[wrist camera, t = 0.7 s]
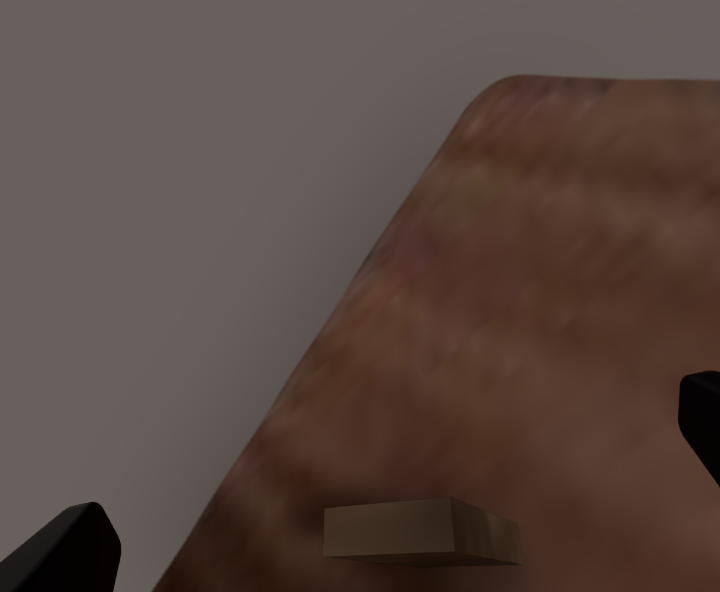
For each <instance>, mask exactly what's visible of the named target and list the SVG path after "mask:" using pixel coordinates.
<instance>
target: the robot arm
mask: <svg viewBox="0 0 720 592" xmlns="http://www.w3.org/2000/svg"><path fill="white" fill-rule="evenodd" d="M678 423H679V427H680V430H681V432H682V434H683V436H684V438H685V439H686V441H687V442H688V443H689V445H690V446H691V448H692V449H693V450H694V452H695V453H696V455H697V456H698V457H699V459H700V460H701V462H702V463H703V464H704V466H705V467H706V469H707V470H708V471H709V473H710V474H711V476H712V477H713V478H714V480H715V481H716V483H717V484H718V485H719V487H720V372H718V371H712V370H710V371H703V372H699V373H694V374H689V375H686V376H685V377H683V378H682V380H681V382H680V391H679V409H678ZM120 557H121V543H120V539H119V537H118V535H117V533H116V531H115V529H114V528H113V526H112V524H111V522H110V520H109V518H108V517H107V515H106V513H105V511H104V509H103V507H101V505H100V504H98V503H97V502H89V503H84V504H79V505H75V506H71V507H69V508H67V509H65V510H64V511H62V512H61V513H60V514H59V515H58V516H56V517H55V518H54V519H53V520H51V521H50V522H49V523H48V524H47V525H45V526H44V527H43V528H42V529H40V530H39V531H38V532H37V533H36V534H34V535H33V536H32V537H31V538H29V539H28V540H27V541H26V542H25V543H24V544H22V545H21V546H20V547H19V548H17V549H16V550H15V551H14V552H12V553H11V554H10V555H9V556H7V557H6V558H5V559H4V560H3V561H1V562H0V592H113V590H114V585H115V580H116V576H117V571H118V567H119V562H120Z"/></svg>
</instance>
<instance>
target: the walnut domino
mask: <svg viewBox="0 0 720 592" xmlns="http://www.w3.org/2000/svg"><path fill="white" fill-rule="evenodd" d="M323 557H331V558H340V559H349V560H358V561H367V562H376V563H385V564H393V565H402V566H411V567H447V566H486V565H523V559H522V552H521V545H520V539H519V532H518V526H517V524H516V523H514V522H511V521H509V520H506V519H504V518H501V517H499V516H496V515H494V514H491V513H489V512H486V511H484V510H481V509H479V508H477V507H474V506H472V505H469V504H467V503H464V502H462V501H459V500H457V499H454V498H452V497H442V498H431V499H420V500H409V501H399V502H388V503H377V504H366V505H355V506H344V507H334V508H325V515H324V541H323Z"/></svg>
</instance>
